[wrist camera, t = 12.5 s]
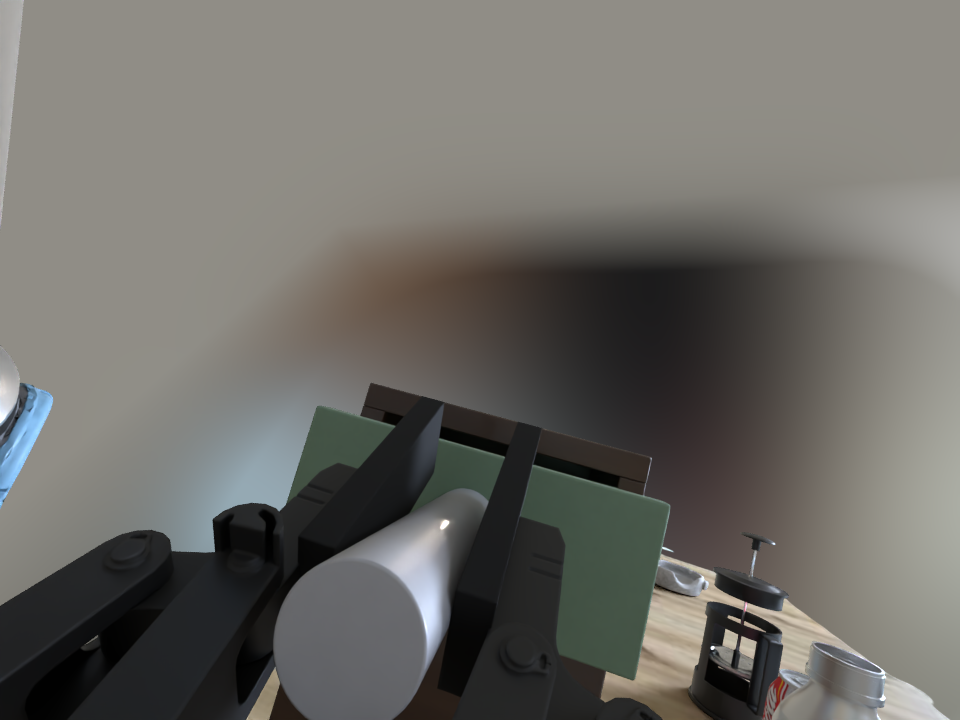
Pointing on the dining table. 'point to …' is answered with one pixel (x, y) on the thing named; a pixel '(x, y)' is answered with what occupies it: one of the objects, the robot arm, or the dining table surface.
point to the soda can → (782, 689)
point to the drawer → (452, 576)
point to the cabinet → (555, 451)
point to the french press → (726, 689)
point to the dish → (679, 579)
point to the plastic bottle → (835, 688)
